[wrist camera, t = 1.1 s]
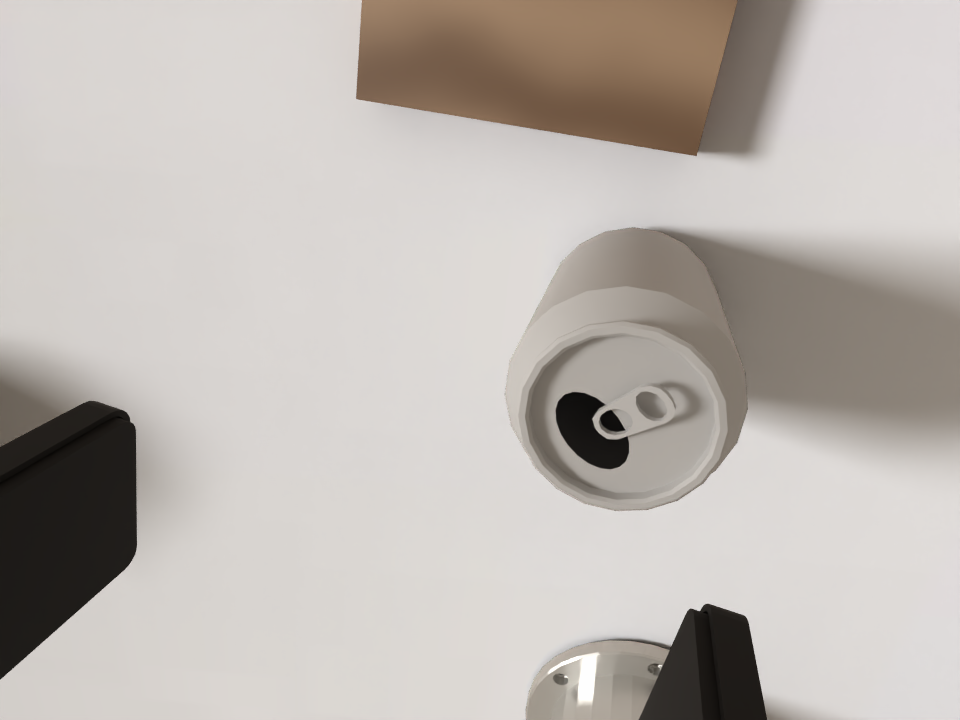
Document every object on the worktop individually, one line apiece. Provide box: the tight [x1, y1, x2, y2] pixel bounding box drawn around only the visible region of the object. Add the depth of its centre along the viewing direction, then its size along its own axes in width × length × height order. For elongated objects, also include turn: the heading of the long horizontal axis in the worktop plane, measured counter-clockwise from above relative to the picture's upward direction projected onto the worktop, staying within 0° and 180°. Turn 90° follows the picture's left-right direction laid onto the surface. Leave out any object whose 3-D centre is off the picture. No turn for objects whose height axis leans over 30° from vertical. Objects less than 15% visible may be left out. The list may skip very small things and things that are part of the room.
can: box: [505, 227, 748, 511], centre depth 24 cm, size 8×8×12 cm
